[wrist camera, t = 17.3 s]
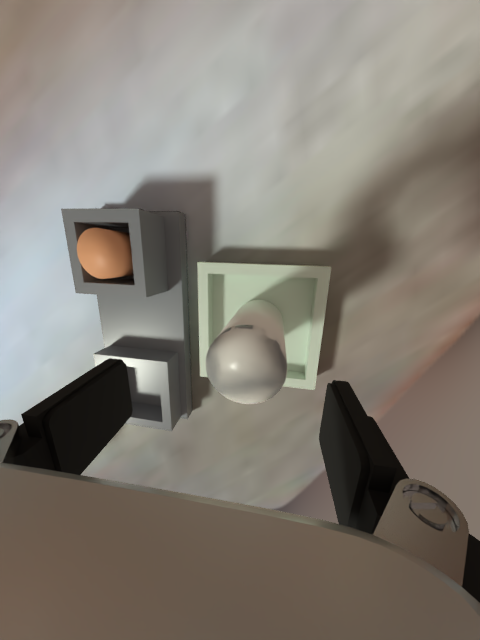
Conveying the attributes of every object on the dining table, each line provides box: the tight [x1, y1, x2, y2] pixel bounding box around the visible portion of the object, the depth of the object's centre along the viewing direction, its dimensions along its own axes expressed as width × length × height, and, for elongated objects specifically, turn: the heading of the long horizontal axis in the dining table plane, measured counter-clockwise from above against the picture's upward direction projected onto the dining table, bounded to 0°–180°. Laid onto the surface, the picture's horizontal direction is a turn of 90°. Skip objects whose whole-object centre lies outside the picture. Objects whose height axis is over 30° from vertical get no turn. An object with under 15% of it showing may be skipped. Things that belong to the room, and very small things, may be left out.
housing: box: [61, 209, 192, 431], centre depth 24 cm, size 23×10×6 cm, turn 178°
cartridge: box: [205, 300, 287, 404], centre depth 18 cm, size 5×5×10 cm
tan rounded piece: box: [77, 228, 134, 279], centre depth 20 cm, size 4×4×4 cm
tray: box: [197, 262, 331, 390], centre depth 23 cm, size 12×12×2 cm
